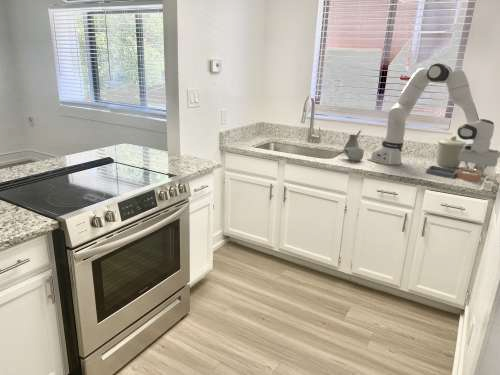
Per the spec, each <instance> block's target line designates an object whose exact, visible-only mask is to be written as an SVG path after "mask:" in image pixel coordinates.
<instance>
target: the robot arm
mask: <svg viewBox="0 0 500 375" xmlns="http://www.w3.org/2000/svg"><path fill="white" fill-rule="evenodd" d="M431 83H435V84H445V85H446V87H447V91H448V96H449V98H450V101H451V102H452V103H453V105H454V104H455V105H456V106H458V107H460V108H461V109H462V111H463V113H464V117H465V120H466V122H467V123H463V124H461V125H460V126H458V129H457V131H456V132H457V134H456V135H457V136H458V137H459V138H460V139H462V140H465V141H467V140H468V141H469V140H472V143H466V144H465V145H464V146H463V149H462V150H461V151H460V154H459V156H458V160H459V161H461V162H464V165H465V170H470V166H469V165H468V164H469V163H471V164H475V163H476V164H482V165H485V166H484V167H485V168H483V169H481V172H484V173H485V170H486V169H487V168H488V166H489V167H496V166H497V165H498V160H499V158H500V151H499V150H497V149H490V147H491V144H492V143H491V140H492V138H493V136H494V130H495V122H493V121H492V120H489V119H485V118H481V119H480V118H479V115H478V111H477V109H476V105H475V102H474V100H473V97H472V92H471V88H470V84H469V81H468V78H467V75H466V74H465V72H464V70H461V69H455V70H452V68H451V66H448V64H447V65H446V64H445V63H433V64H431V65H430V66H429V67H428V68H418V69H417V70H416V71H415V72H414V73H413V74H412V76H411V77H410V79H409V80H408V82H407V83H406V85H405V87H404V88H403V90H402V91H401V93H400V96H398V97H399V98H398V99H397V101H396V103H395V105H393V106H392V107H391V108H390V109H389V111H388V114H387V115H388V116H387V127H386V128H387V129H386V137H385V139H384V140H383V141H382V142H381V146H379V147H377V148H375V149H374V150H373V151H372V153H371V154H370V156H368V157H367V160H368V161H371V162H375V163H378V164H379V163H380V164H382V165H387V166H388V165H401V164H402V163H403V162H402V151H403V147H404V138H405V133H406V132H405V129H406V120H407V118H409V116H410V114H411V112H412V111H413V109H414V107H415V105H416V103H418V100H419V98H421V96H422V94H423V92H424V91H425V89H426V87H427V86H428V85H429V84H431Z"/></svg>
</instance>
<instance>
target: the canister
mask: <svg viewBox="0 0 500 375" xmlns="http://www.w3.org/2000/svg"><path fill="white" fill-rule="evenodd" d="M465 144H467V142H465V141H463V140H459V139H457V136H456V135H452V136H450V138H441V139H440V140H437V151H436V152H437V154H436V165H437V166H438V167H443V168H448V169H457V168H459V166H460V165H461V162H462V161H459V160H458V156H459V154H460V151H461V150H462V149H463V146H464V145H465Z"/></svg>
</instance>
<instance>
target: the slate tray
mask: <svg viewBox="0 0 500 375" xmlns="http://www.w3.org/2000/svg"><path fill="white" fill-rule="evenodd" d="M458 171H459V169H455V168H447V167H442V166H438V165H437V166H436V165H430V166H429V167H427V169H426V171H425V173H426V174H430V175H435V176H439V177H444V178H449V179H454V178H455V177H457V174H458Z"/></svg>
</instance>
